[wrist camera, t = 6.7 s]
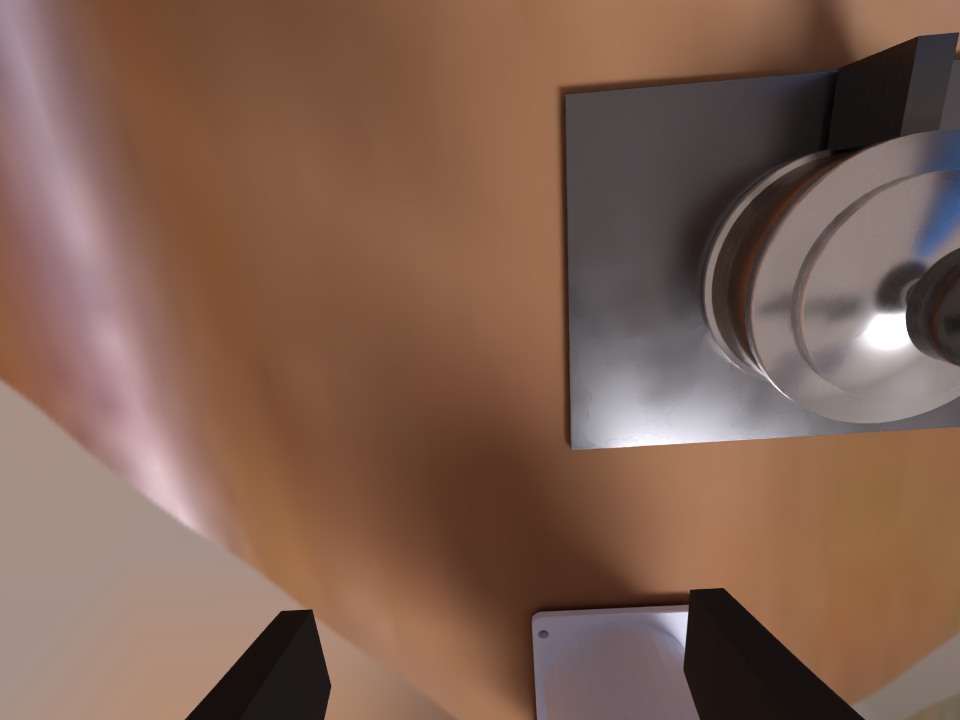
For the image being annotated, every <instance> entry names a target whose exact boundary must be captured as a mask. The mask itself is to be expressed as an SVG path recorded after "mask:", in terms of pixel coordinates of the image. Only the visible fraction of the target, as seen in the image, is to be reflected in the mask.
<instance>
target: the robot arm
mask: <svg viewBox="0 0 960 720" xmlns="http://www.w3.org/2000/svg"><path fill="white" fill-rule="evenodd" d="M542 630H545V631H543V632H542ZM532 636H533V655H534V674H535V692H536V711H537V720H865V719H864V718H863V717H861V716H860V715H859V714H858V713H857V712H856V711H855V710H854V709H853V708H851V707H850V706H849V705H848V704H847V703H846V702H845V701H844V700H843V699H841V698H840V697H839V696H838V695H837V694H836V693H835V692H834V691H833V690H831V689H830V688H829V687H828V686H827V685H826V684H825V683H824V682H823V681H821V680H820V679H819V678H818V677H817V676H816V675H815V674H814V673H813V672H812V671H811V670H809V669H808V668H807V667H806V666H805V665H804V664H803V663H802V662H801V661H800V660H799V659H798V658H797V657H796V656H794V655H793V654H792V653H791V652H790V651H789V650H788V649H787V648H786V647H785V646H784V645H783V644H782V643H781V642H780V641H779V640H777V639H776V638H775V637H774V636H773V635H772V634H771V633H770V632H769V631H768V630H767V629H766V628H765V627H764V626H763V625H762V624H761V623H760V622H759V621H758V620H756V619H755V618H754V617H753V616H752V615H751V614H750V613H749V612H748V611H747V610H746V609H745V608H744V607H743V606H742V605H741V604H740V603H739V602H738V601H737V600H736V599H734V598H733V597H732V596H731V595H730V594H729V593H728V592H727V591H726V590H725V589H724V588H716V589H696V590H690V598H689V605H674V606H653V607H632V608H611V609H590V610H569V611H548V612H538V613H536V614H535V615H534V616H533V617H532ZM330 690H331V683H330V679H329V675H328V671H327V667H326V663H325V659H324V655H323V651H322V647H321V643H320V639H319V635H318V631H317V627H316V623H315V619H314V615H313V611H312V609H311V610H292V611H281V612H280V613H279V614H278V615H277V616H276V617H275V619H274V620H273V621H272V622H271V623H270V624H269V625H268V626H267V627H266V629H265V630H264V631H263V632H262V633H261V634H260V635H259V637H258V638H257V639H256V640H255V641H254V642H253V643H252V645H251V646H250V647H249V648H248V649H247V650H246V651H245V653H244V654H243V655H242V656H241V657H240V658H239V659H238V661H237V662H236V663H235V664H234V665H233V666H232V667H231V669H230V670H229V671H228V672H227V673H226V674H225V675H224V677H223V678H222V679H221V680H220V681H219V682H218V683H217V685H216V686H215V687H214V688H213V689H212V690H211V691H210V692H209V693H208V695H207V696H206V697H205V698H204V699H203V700H202V701H201V702H200V703H199V705H198V706H197V707H196V708H195V709H194V710H193V711H192V712H191V714H189V716H188V717H187V718H186V719H185V720H324V718H325V713H326V708H327V704H328V699H329V695H330Z"/></svg>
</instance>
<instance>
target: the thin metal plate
mask: <svg viewBox="0 0 960 720" xmlns="http://www.w3.org/2000/svg"><path fill="white" fill-rule="evenodd" d="M958 37H959V33H948V34H937V35H926V36H918V37H915V38H913V39H911V40H908V41H906V42H903V43H901V44H898V45H896V46H893V47H891V48H888V49H886V50H884V51H881V52H879V53H876V54H874V55H871V56H869V57H866V58H864V59H861V60H859V61H857V62H854V63H852V64H849V65H847V66H844V67H842V68H839V69H838V70H836V71H825V72H814V73H803V74H791V75H780V76H769V77H757V78H746V79H735V80H724V81H712V82H701V83H690V84H679V85H667V86H656V87H645V88H634V89H622V90H611V91H600V92H588V93H577V94H566V95H565V96H564V118H565V176H566V234H567V293H568V351H569V409H570V448H571V450H582V449H598V448H615V447H632V446H648V445H665V444H681V443H698V442H714V441H731V440H748V439H764V438H781V437H797V436H814V435H831V434H847V433H864V432H880V431H897V430H913V429H930V428H947V427H960V386H958V387H956V388H954V389H952V390H949V391H947V392H945V393H942V394H939V395H936V396H933V397H930V398H926V399H921V400H917V401H910V402H901V403H885V402H877V401H871V400H867V399H863V398H859V397H857V396H854V395H852V394H850V393H847V392H845V391H843V390H841V389H839V388H837V387H835V386H833V385H831V384H830V383H828V382H827V381H825V380H823V379H822V378H821V377H819V376H818V375H817V374H816V373H815V372H814V371H813V370H812V369H811V368H810V367H809V366H808V365H807V363H806V362H805V361H804V359H803V357H802V356H801V354H800V352H799V350H798V348H797V345H796V343H795V340H794V336H793V331H792V327H791V300H792V295H793V290H794V285H795V282H796V279H797V276H798V273H799V270H800V268H801V266H802V264H803V262H804V259H805V257H806V255H807V254H808V252H809V250H810V249H811V247H812V245H813V244H814V242H815V241H816V240H817V238H818V237H819V236H820V234H821V233H822V232H823V230H824V229H825V228H826V227H827V226H828V225H829V224H830V223H831V222H832V221H833V219H834V218H835V217H836V216H837V215H838V214H840V213H841V212H842V211H843V210H844V209H845V208H847V207H848V206H849V205H850V204H851V203H853V202H854V201H856V200H857V199H859V198H860V197H862V196H863V195H864V194H866V193H868V192H870V191H871V190H873V189H875V188H877V187H879V186H881V185H883V184H885V183H888V182H890V181H893V180H895V179H898V178H901V177H905V176H908V175H912V174H917V173H924V172H930V171H941V170H952V169H960V60H954V56H955V51H956V46H957V41H958Z"/></svg>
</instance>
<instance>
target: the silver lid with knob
mask: <svg viewBox="0 0 960 720" xmlns="http://www.w3.org/2000/svg"><path fill="white" fill-rule="evenodd" d="M791 327H792V331H793V336H794V340H795V343H796V345H797V348H798V350H799V352H800V354H801V356H802V357H803V359H804V361H805V362H806V363H807V365H808V366H809V367H810V368H811V369H812V370H813V371H814V372H815V373H816V374H817V375H818V376H819V377H821V378H822V379H823V380H825V381H827V382H828V383H830V384H831V385H833V386H835V387H837V388H839V389H841V390H843V391H845V392H847V393H850V394H852V395H854V396H857V397H859V398H863V399H867V400H871V401H877V402H885V403H901V402H910V401H917V400H921V399H926V398H930V397H933V396H936V395H939V394H942V393H945V392H947V391H949V390H952V389H954V388H956V387H958V386H960V169H952V170H941V171H930V172H924V173H917V174H912V175H908V176H905V177H901V178H898V179H895V180H893V181H890V182H888V183H885V184H883V185H881V186H879V187H877V188H875V189H873V190H871V191H870V192H868V193H866V194H864V195H863V196H862V197H860V198H859V199H857V200H856V201H854V202H853V203H851V204H850V205H849V206H848V207H847V208H845V209H844V210H843V211H842V212H841V213H840V214H838V215H837V216H836V217H835V218H834V219H833V221H832V222H831V223H830V224H829V225H828V226H827V227H826V228H825V229H824V230H823V232H822V233H821V234H820V236H819V237H818V238H817V240H816V241H815V242H814V244H813V245H812V247H811V249H810V250H809V252H808V254H807V255H806V257H805V259H804V262H803V264H802V266H801V268H800V270H799V273H798V276H797V279H796V282H795V285H794V290H793V295H792V300H791Z"/></svg>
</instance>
